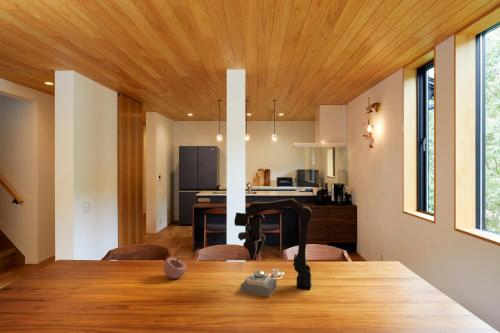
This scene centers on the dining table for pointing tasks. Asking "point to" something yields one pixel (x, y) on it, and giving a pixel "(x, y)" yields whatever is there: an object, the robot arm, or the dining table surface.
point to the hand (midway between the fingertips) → (254, 257)
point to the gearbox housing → (259, 286)
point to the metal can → (259, 275)
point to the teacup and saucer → (275, 273)
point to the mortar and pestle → (174, 267)
